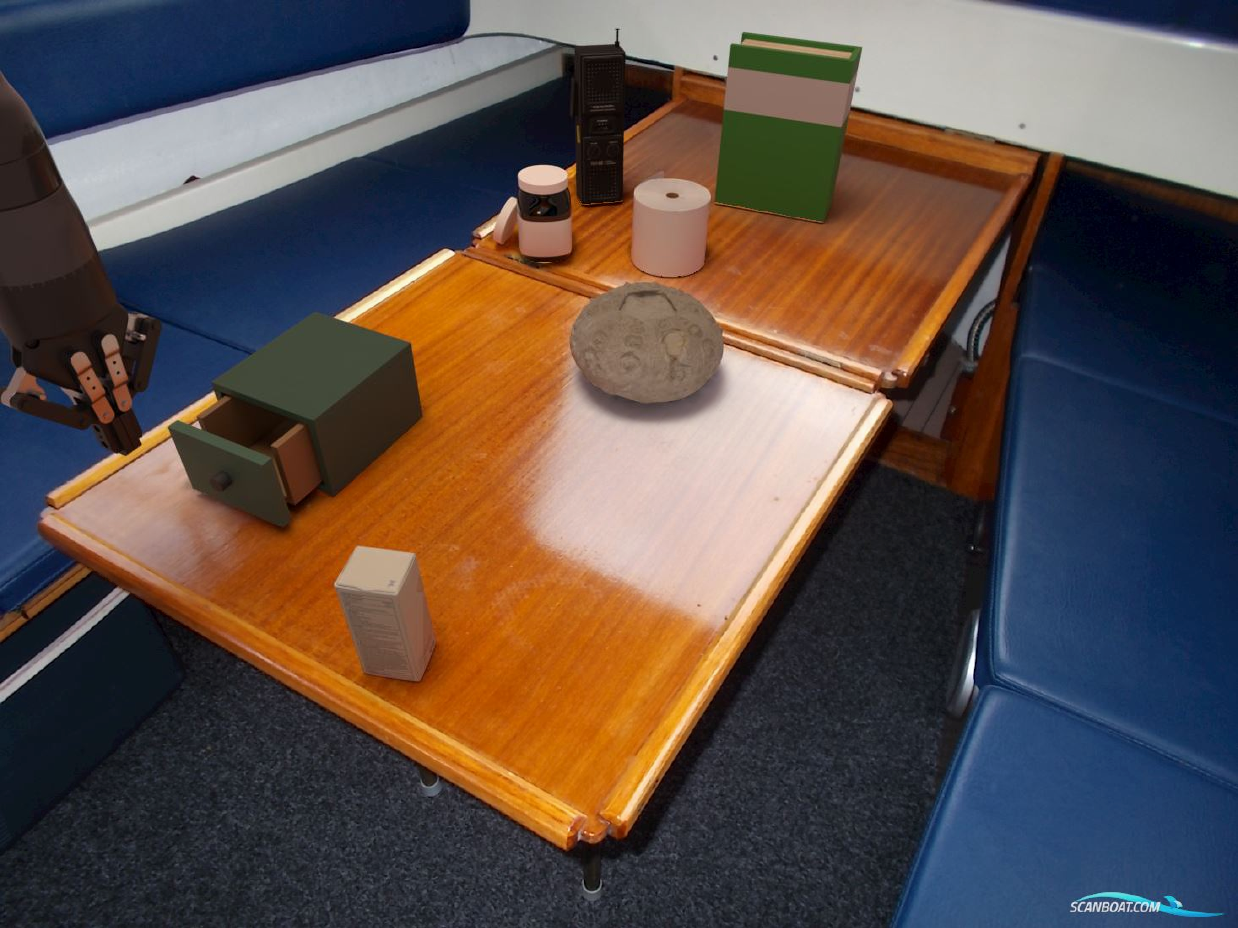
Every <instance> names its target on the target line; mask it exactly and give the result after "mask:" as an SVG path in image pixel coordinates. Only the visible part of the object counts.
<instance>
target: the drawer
mask: <svg viewBox="0 0 1238 928" xmlns="http://www.w3.org/2000/svg"><path fill="white" fill-rule="evenodd" d="M196 419H197V421H198V424H199V427H200V428H199V427H197V426H194V425H191V424H189V423H187V422H184V421H182V420H178V419H176V420H175V421H173V422H171V423H170V424H169V425H168V426H167V430H168V432H169V435H170V437H171V439H172V442H173V444H174V446H175V449H176V451H177V453H178V456H179V459H180V461H181V463H182V466H183V469H184V471H185V473H186V476H187V478H188V480H189V482H190V485H191V487H192V489H193V490H195V491H197V492H199V493H202V494H204V495H206V496H209V497H211V498H213V499H215V500H217V501H221V502H222V503H225V504H227V505H229V506H232V507H234V508H236V509H238V510H241V511H243V512H246V513H248V514H250V515H253V516H255V517H257V518H260V519H262V520H264V521H266V522H268V523H271V524H273V525H276V526H278V527H280V528H282V529H283V528H285V527H286V526H287V525H288V524H290V523H291V521H292V520H293V519H292V516H291V514H290V510H289V507H288V504H291V505H293V506H297V504H298V503H300V502H301V501H302V500H303V499H304V498H305V497H306V496H308V495H309V494H310V493H311V492H313V490H315V489H314V488H315V487H317V486H318V485H319V484H320V483H321V482H322V481H323V477H322V474H321V470H320V466H319V463H318V459H317V456H316V452H315V448H314V445H313V441H312V437H311V434H310V430H309V427H308V425H307V424H304V423H301V422H299V421H296V420H294V419H291V418H288V417H286V416H283V415H280V414H278V413H275V412H273V411H270V410H267V409H265V408H262V407H259V406H257V405H254V404H251V403H249V402H246V401H244V400H241V399H238V398H236V397H233V396H230V395H228V394H227V395H226V396H224V397H223V398H222V399H220V400H219V401H216V402H215V403H213V404H212V405H210V406H208V407H207V408H205V409H204V410H203V411H201V412H200V413H198V414H197V415H196ZM287 503H288V504H287Z"/></svg>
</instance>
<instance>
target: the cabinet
mask: <svg viewBox="0 0 1238 928" xmlns="http://www.w3.org/2000/svg"><path fill="white" fill-rule="evenodd" d="M412 347H413V346H412V343H411V341H408V340H404V339H401V338H399V337H395V336H392V335H388V334H386V333H383V332H380V331H376V330H374V329H371V328H368V327H364V326H360V325H358V324H354V323H352V322H348V321H346V320H342V319H339V318H336V317H333V316H330V315H326V314H323V313H321V312H318V311H314V312H312V313H310V314H309V315H308V316H306V317H305V318H303V319H302V320H301V321H299V322H297V323H296V324H294V325H293V326H291V327H290V328H289V329H287V330H286V331H284V332H283V333H281V334H280V335H278V336H277V337H275V338H274V339H272V340H270V341H269V342H268V343H266V344H265V345H263V346H262V347H260V348H259V349H257V350H256V351H254V352H253V353H251V354H250V355H248V356H247V357H245V358H244V359H242V360H241V361H239V362H238V363H237V364H234V366H232V367H231V368H229V369H228V370H226V371H225V372H223V373H222V374H220V375H218V377H216V378H215V379H213V380H212V381H210V384H211V386H212V389H213V392H214V395H215V397H216V400H217V401H219V400H220V399H222V398H223V397H224V396H226V395H227V394H228V395H230V396H233V397H236V398H238V399H241V400H244V401H246V402H249V403H251V404H254V405H257V406H259V407H262V408H265V409H267V410H270V411H273V412H275V413H278V414H280V415H283V416H286V417H288V418H291V419H294V420H296V421H299V422H301V423H304V424H307V425H308V427H309V430H310V434H311V437H312V441H313V445H314V448H315V452H316V456H317V459H318V463H319V466H320V470H321V474H322V477H323V481H322V482H321V483H320V484H319V485H318V486H317V487H315V488H314V489H313V490H316V491H317V492H321V493H324V494H326V495H329V496H331V497H333V498H334V497H336V496H337V495H339V493H340V492H341V491H342V490H343V489H345V488H346V487H348V485H349V484H351V482H353V480H355V479H356V478H357V477H358V476H359V475H360V474H361V473H362V472H363V471H364V470H366V469H367V468H368V467H369V466H370V465H371V464H372V463H373V462H374V461H375V460H376V459H378V458H379V457H380V456H381V455H382V454H383V453H384V452H386V450H388V449H389V448H390V447H391V446H392V445H393V444H394V443H395V442H396V441H398V439H400V438H401V437H402V436H403V435H404V434H405V433H406V432H408V430H410V429H411V427H413V426H414V425H415V424H416V423H417V422H418V421H420V420H421V418H423V416H424V415H423V409H422V404H421V397H420V390H419V385H418V384H419V383H418V377H417V372H416V367H415V366H416V365H415V359H414V353H413V348H412ZM217 401H216V402H217Z"/></svg>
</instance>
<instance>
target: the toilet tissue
mask: <svg viewBox="0 0 1238 928" xmlns="http://www.w3.org/2000/svg"><path fill="white" fill-rule="evenodd" d="M664 175H665V170H664V169H663V170H661V171H658V172H655V173H654V174H652V175H650V176H649V177H646V178H645V179H643V180H642V182H640V183H639V184H637V186H636V187H635V188H634V191H633V201H632V202H633V203H632V219H631V220H632V221H631V222H632V223H631V225H632V226H631V227H632V229H631V250H630V255H631V257H630V259H631V263H632V264H633V266H634V267H635V268H637V269H638V270H640V271H641V272H643V271H644V273H646V274H648V275H651V276H656V277H661V276H662V277H663V278H679V277H678V276H681V277H685V276H689V275H692V274H695V273H697V272H699V270H701V269H702V268H703V267H704V266H705V262H704V261H705V259H706V250H707V239H708V233H709V232H708V228H709V218H710V211H711V210H710V209H711V197H712V196H711V192H710V191H709V189H708V188H707V187H705V186H703V185H702V184H700V183H697V182H695V181H692V180H687V179H682V178H672V177H671V178H664ZM696 271H697V272H696ZM694 272H695V273H694Z"/></svg>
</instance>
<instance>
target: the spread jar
mask: <svg viewBox="0 0 1238 928" xmlns="http://www.w3.org/2000/svg"><path fill="white" fill-rule="evenodd" d="M517 180H518V181H517V182H518V189H517V191H516V197H514V196H511V197H509V198H508V200H507V201H506V202H505V204H504V205H503V207H502V208H501V211H500V212H499V215H498V217H497V219H496V221H495V225H494V228H493V233H492V240H493V242H496V243H498V244H500V245H502V244H503V245H505V244H504V242H505V241H506V240H507V239H508V238H509V239H510V238H511V236H512V234H513V232H514V231H515V229H516V226H517V238H518V248H519V252H520V255H521V256H522V257H523V259H525V260H526V261H529V262H532V261H533V262H532V263H535V262H555V263H557V262H556V261H559V262H561V261H560V260H562V261H563V259H564V260H565V259H567V258H569V257H570V256H571V254H572V251H573V250H572V249H573V224H572V223H573V218H572V217H573V207H572V198H571V192H570V189H569V187H568V186H569V174H568V171H566V170H564V169H563V168H562V167H559V166H555V165H551V164H550V165H549V164H538V165H531V166H528V167H525V168H523V169H521V170H520V171H519V172H518V174H517ZM510 235H511V236H510ZM509 239H508V240H509ZM508 240H507V241H508Z"/></svg>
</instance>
